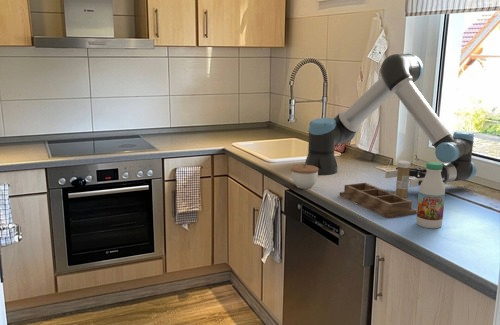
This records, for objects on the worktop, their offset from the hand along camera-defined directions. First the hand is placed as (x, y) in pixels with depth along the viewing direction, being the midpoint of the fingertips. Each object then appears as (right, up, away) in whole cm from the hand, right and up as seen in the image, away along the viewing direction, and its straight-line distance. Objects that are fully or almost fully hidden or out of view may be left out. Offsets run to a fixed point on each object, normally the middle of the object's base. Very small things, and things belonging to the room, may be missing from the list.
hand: (397, 178), depth 184 cm
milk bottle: (+2, -14, -27) cm, 31 cm away
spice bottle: (+2, -7, +3) cm, 8 cm away
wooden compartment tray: (-10, -9, -7) cm, 15 cm away
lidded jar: (-33, -4, +15) cm, 36 cm away
